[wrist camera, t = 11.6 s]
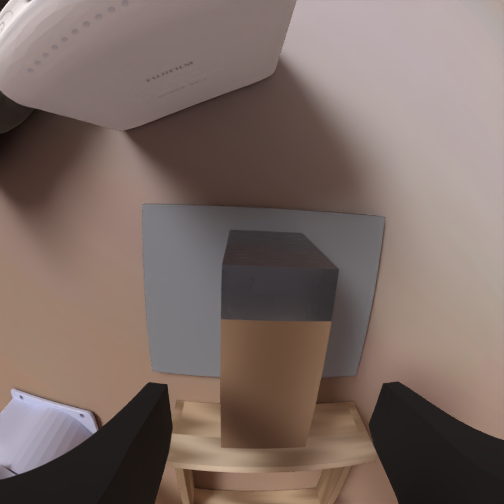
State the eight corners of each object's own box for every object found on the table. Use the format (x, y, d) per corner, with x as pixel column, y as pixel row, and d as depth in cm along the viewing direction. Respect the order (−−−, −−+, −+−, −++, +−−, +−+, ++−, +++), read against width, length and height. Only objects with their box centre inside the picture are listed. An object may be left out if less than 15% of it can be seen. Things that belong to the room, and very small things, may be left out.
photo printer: (116, 143, 16) (-47, 115, 4) (99, 83, 15) (-42, 9, 3) (284, 81, 16) (352, -57, 4) (259, 23, 15) (281, -133, 3)
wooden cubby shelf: (189, 490, 24) (183, 537, 18) (176, 400, 20) (161, 460, 15) (320, 489, 24) (331, 534, 18) (352, 400, 21) (377, 456, 15)
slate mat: (154, 367, 20) (152, 371, 19) (144, 203, 17) (142, 204, 17) (353, 371, 20) (355, 375, 20) (381, 216, 18) (385, 217, 17)
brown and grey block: (226, 368, 19) (221, 447, 12) (230, 229, 17) (222, 264, 10) (287, 369, 19) (305, 447, 13) (302, 233, 17) (339, 269, 11)
